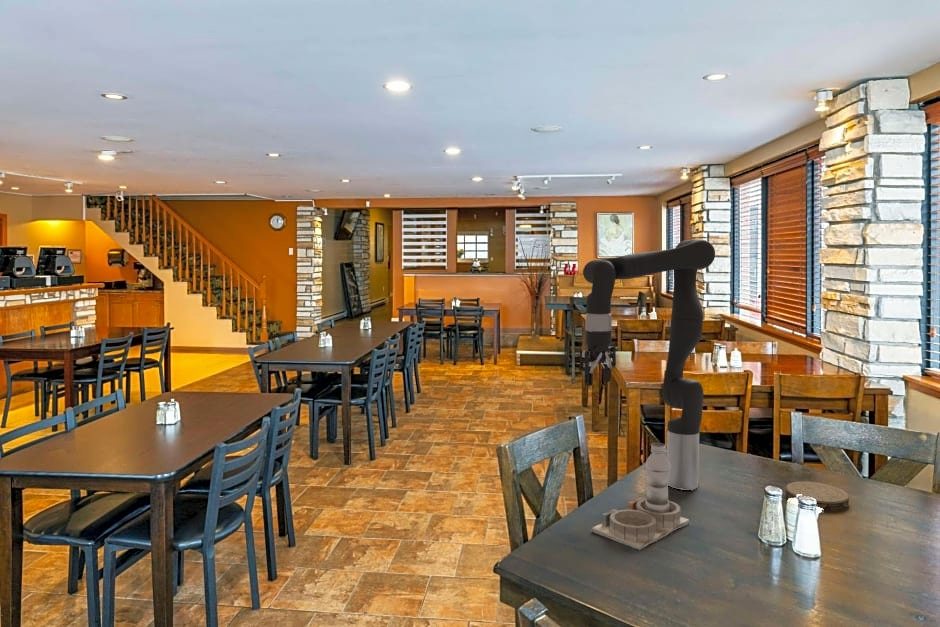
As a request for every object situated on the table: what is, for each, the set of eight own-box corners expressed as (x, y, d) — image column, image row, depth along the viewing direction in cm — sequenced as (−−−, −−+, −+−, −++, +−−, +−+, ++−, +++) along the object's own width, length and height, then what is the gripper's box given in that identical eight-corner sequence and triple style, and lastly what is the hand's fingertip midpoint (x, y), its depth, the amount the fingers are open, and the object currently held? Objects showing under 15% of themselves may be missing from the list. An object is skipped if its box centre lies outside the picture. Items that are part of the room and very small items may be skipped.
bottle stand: (643, 508, 179) (643, 492, 178) (689, 523, 168) (689, 506, 168) (591, 532, 164) (592, 514, 163) (638, 550, 153) (639, 532, 153)
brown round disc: (861, 506, 180) (861, 496, 180) (822, 516, 174) (822, 505, 173) (810, 487, 195) (811, 478, 194) (773, 496, 188) (773, 486, 188)
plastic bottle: (666, 514, 172) (668, 441, 170) (672, 524, 165) (673, 449, 163) (642, 513, 172) (643, 440, 171) (646, 523, 166) (648, 448, 164)
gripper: (602, 325, 194) (602, 378, 195) (572, 329, 185) (572, 385, 186) (623, 327, 188) (622, 382, 190) (593, 331, 179) (593, 389, 180)
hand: (597, 383), depth 188 cm, fingers open, 8 cm apart
